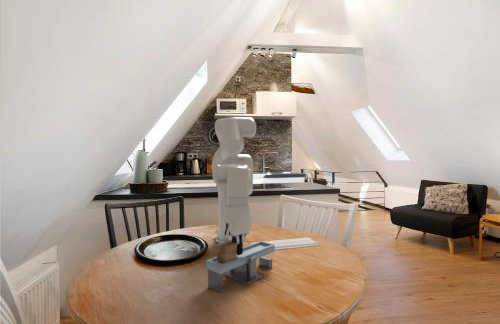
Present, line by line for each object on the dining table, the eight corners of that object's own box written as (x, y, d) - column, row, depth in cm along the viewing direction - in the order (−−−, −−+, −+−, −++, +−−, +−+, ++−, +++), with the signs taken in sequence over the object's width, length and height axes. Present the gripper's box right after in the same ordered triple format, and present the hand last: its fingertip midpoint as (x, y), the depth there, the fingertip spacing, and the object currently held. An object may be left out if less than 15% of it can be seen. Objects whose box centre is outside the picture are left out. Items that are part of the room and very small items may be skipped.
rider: (217, 261, 104) (216, 244, 104) (227, 257, 108) (227, 240, 108) (226, 265, 101) (226, 247, 101) (236, 260, 105) (236, 243, 105)
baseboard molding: (320, 247, 145) (308, 240, 156) (320, 241, 145) (308, 234, 156) (257, 254, 136) (249, 246, 147) (257, 247, 135) (249, 240, 147)
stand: (201, 284, 105) (201, 261, 104) (255, 261, 126) (255, 242, 125) (225, 295, 97) (226, 271, 96) (279, 269, 118) (279, 249, 117)
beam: (205, 267, 103) (205, 259, 103) (259, 247, 124) (259, 240, 124) (221, 274, 98) (221, 265, 98) (275, 251, 119) (275, 244, 119)
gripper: (244, 197, 116) (244, 246, 117) (214, 203, 105) (214, 256, 106) (260, 200, 111) (259, 251, 112) (230, 206, 100) (230, 262, 101)
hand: (237, 253), depth 109 cm, fingers closed
